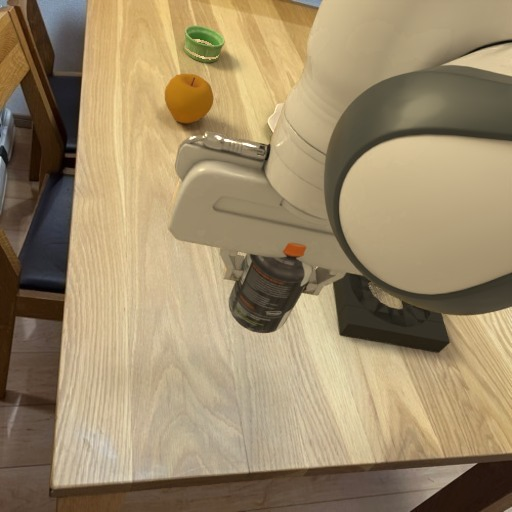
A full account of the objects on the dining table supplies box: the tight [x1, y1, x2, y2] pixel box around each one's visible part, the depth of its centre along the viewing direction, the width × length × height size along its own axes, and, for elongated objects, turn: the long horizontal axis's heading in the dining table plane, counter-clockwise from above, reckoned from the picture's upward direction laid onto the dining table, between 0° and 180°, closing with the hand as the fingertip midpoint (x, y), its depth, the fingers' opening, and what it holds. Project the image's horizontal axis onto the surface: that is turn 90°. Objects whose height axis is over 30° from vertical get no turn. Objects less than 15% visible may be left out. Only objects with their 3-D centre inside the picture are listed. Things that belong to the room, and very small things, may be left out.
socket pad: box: [332, 272, 451, 353], centre depth 76 cm, size 16×16×3 cm
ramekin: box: [183, 25, 226, 63], centre depth 111 cm, size 9×9×4 cm
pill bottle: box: [228, 243, 317, 334], centre depth 43 cm, size 6×6×11 cm
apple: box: [164, 73, 215, 124], centre depth 90 cm, size 9×9×9 cm
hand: (270, 282), depth 44 cm, fingers closed on pill bottle, 6 cm apart
